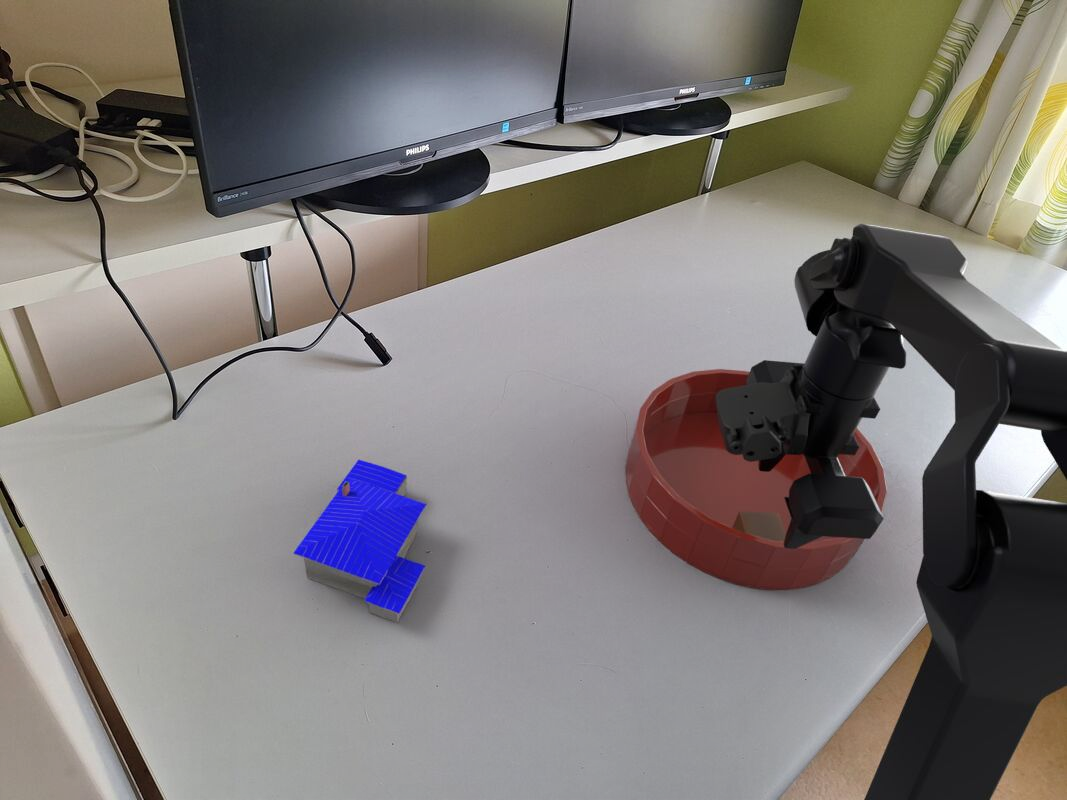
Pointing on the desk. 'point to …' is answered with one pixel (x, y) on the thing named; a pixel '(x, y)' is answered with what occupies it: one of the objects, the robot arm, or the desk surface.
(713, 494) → the red round bowl
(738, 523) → the block
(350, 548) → the house
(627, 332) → the desk surface
